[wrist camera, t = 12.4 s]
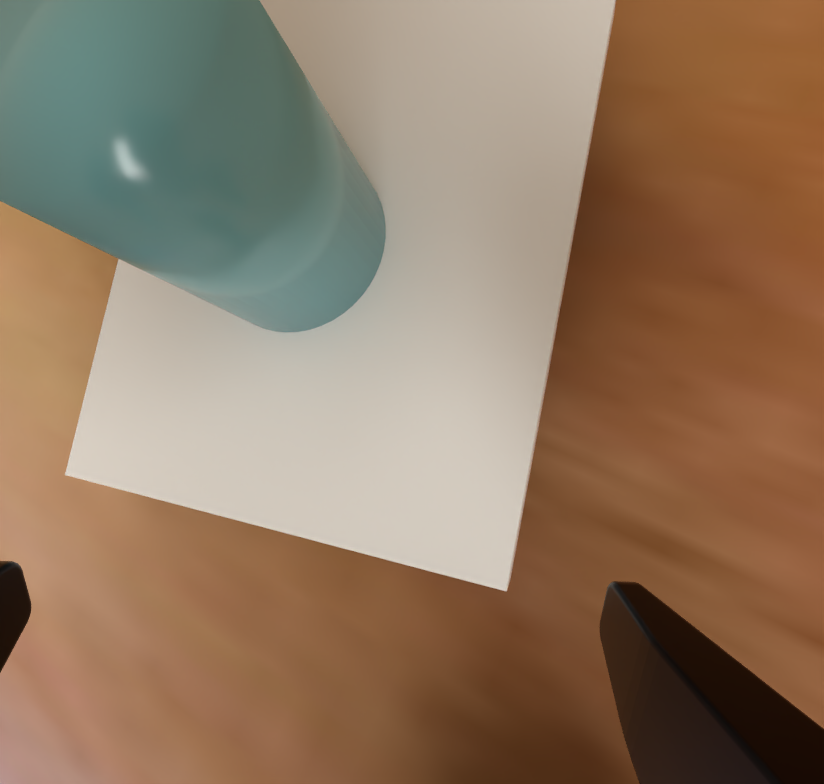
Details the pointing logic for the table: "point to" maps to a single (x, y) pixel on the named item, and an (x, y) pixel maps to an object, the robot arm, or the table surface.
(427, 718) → the table surface
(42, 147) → the teal cup
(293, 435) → the white slab
